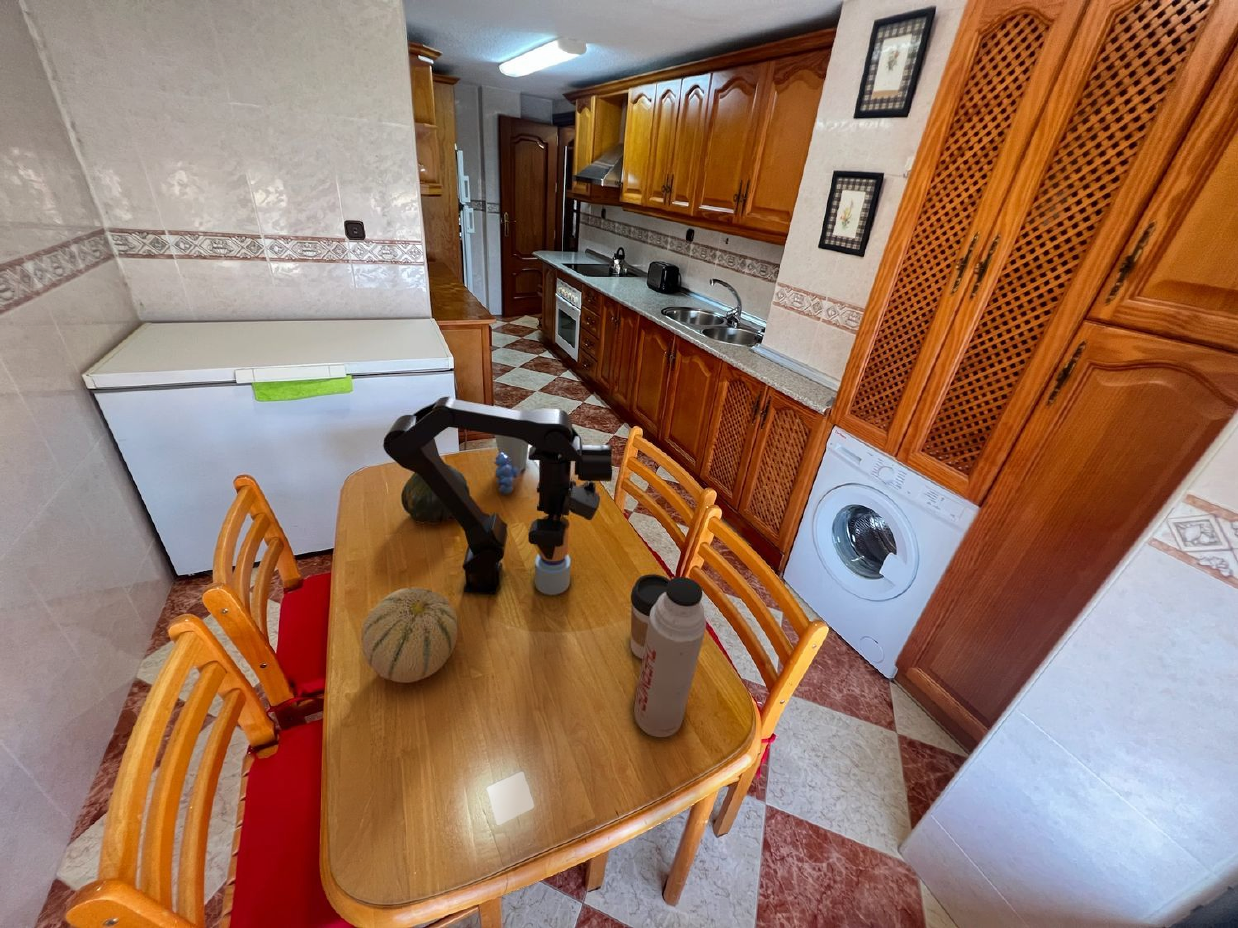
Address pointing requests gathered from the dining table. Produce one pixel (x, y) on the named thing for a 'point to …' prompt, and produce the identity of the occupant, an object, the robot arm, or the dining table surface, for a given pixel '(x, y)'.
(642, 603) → the coffee cup
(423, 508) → the squash
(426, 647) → the cantaloupe
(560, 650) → the dining table surface
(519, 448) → the disposable coffee cup
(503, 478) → the grapes
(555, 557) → the cup
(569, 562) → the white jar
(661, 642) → the thermos bottle
